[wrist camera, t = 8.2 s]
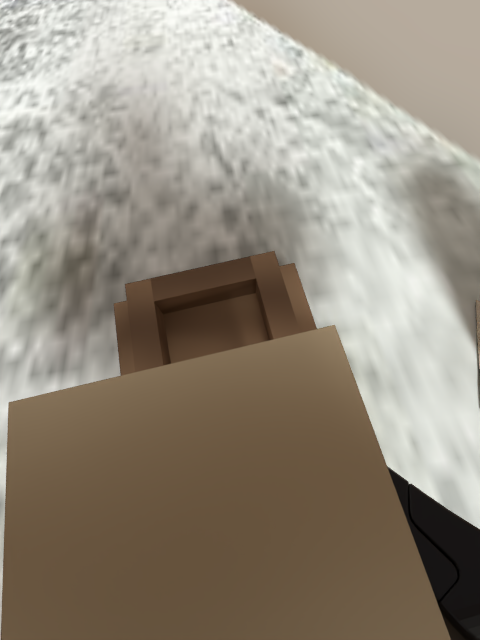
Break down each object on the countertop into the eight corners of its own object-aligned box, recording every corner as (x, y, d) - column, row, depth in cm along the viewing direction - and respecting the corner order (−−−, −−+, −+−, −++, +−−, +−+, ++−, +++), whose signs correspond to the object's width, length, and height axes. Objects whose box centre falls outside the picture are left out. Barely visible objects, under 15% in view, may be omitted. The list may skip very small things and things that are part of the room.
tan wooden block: (299, 512, 14) (542, 889, 2) (212, 535, 14) (-15, 1081, 2) (272, 410, 16) (334, 324, 4) (194, 430, 15) (8, 402, 4)
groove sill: (428, 685, 14) (481, 759, 11) (171, 762, 14) (146, 864, 10) (291, 274, 22) (298, 245, 19) (122, 312, 21) (99, 290, 18)
